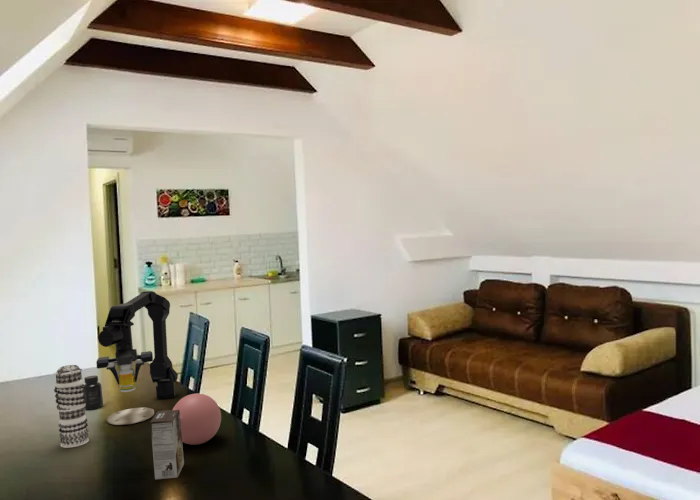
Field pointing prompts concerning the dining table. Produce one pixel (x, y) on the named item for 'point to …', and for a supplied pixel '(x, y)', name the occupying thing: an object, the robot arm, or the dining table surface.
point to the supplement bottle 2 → (126, 378)
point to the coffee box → (167, 444)
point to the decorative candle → (71, 406)
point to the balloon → (198, 418)
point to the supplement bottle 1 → (93, 393)
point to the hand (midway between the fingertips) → (127, 383)
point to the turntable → (130, 416)
